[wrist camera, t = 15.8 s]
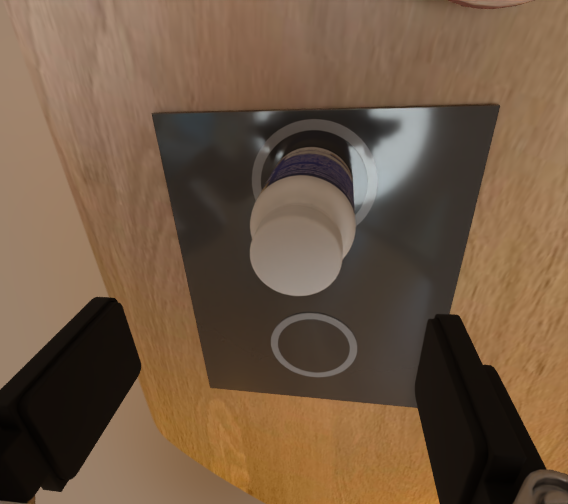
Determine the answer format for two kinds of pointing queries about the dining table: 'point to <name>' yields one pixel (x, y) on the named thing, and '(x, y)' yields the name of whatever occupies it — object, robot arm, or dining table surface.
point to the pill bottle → (303, 222)
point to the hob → (355, 265)
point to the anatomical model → (489, 3)
